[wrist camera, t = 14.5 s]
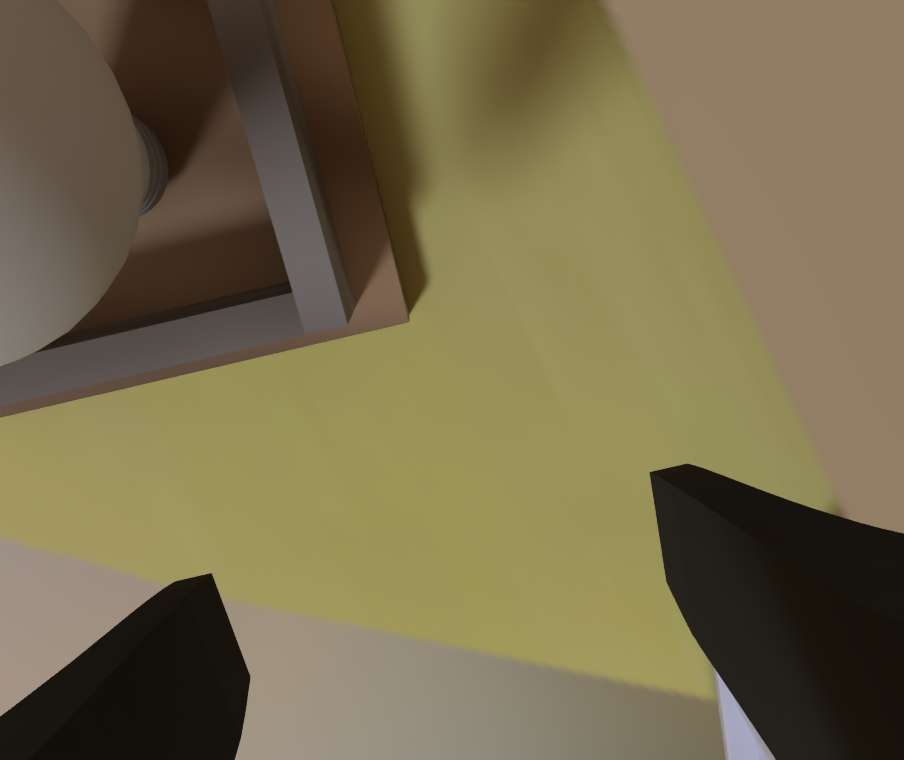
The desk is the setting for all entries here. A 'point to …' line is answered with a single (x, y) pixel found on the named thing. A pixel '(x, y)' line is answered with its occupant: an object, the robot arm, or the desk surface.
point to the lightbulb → (63, 175)
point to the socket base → (229, 200)
